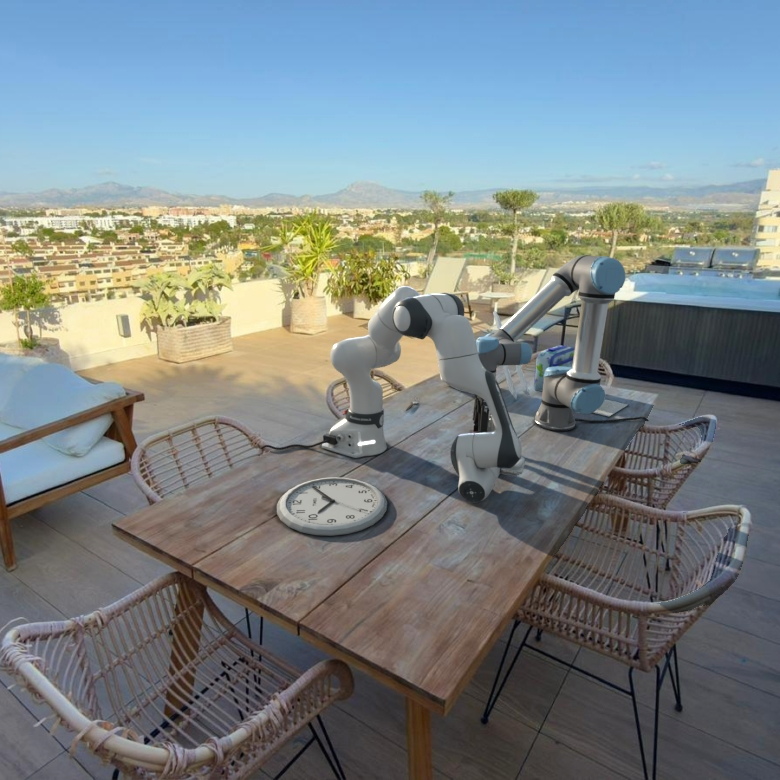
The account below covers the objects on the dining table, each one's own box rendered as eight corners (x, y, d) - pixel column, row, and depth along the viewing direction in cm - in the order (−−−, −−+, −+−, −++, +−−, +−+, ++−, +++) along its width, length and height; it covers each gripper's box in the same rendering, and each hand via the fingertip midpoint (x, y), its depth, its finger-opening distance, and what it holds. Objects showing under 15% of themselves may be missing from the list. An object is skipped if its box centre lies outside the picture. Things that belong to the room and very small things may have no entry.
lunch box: (550, 398, 235) (555, 353, 229) (529, 393, 243) (534, 349, 236) (577, 387, 253) (583, 345, 247) (557, 382, 260) (562, 341, 254)
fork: (403, 411, 216) (403, 406, 215) (414, 400, 230) (414, 395, 230) (409, 412, 215) (409, 407, 215) (420, 400, 229) (420, 396, 229)
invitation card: (608, 416, 214) (573, 407, 224) (608, 416, 214) (573, 408, 224) (628, 404, 229) (594, 396, 238) (628, 405, 229) (594, 397, 238)
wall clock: (392, 527, 129) (268, 531, 127) (391, 533, 130) (269, 537, 127) (383, 473, 158) (282, 475, 155) (383, 478, 158) (282, 480, 156)
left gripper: (522, 464, 146) (529, 446, 159) (451, 452, 154) (463, 436, 166) (520, 485, 148) (527, 465, 161) (450, 471, 156) (462, 454, 168)
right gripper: (467, 374, 185) (462, 435, 192) (478, 391, 167) (472, 457, 174) (488, 375, 186) (483, 435, 192) (501, 391, 167) (494, 457, 174)
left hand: (494, 450), depth 163 cm, fingers closed on jar, 5 cm apart
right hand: (478, 445), depth 183 cm, fingers closed on lid, 6 cm apart
